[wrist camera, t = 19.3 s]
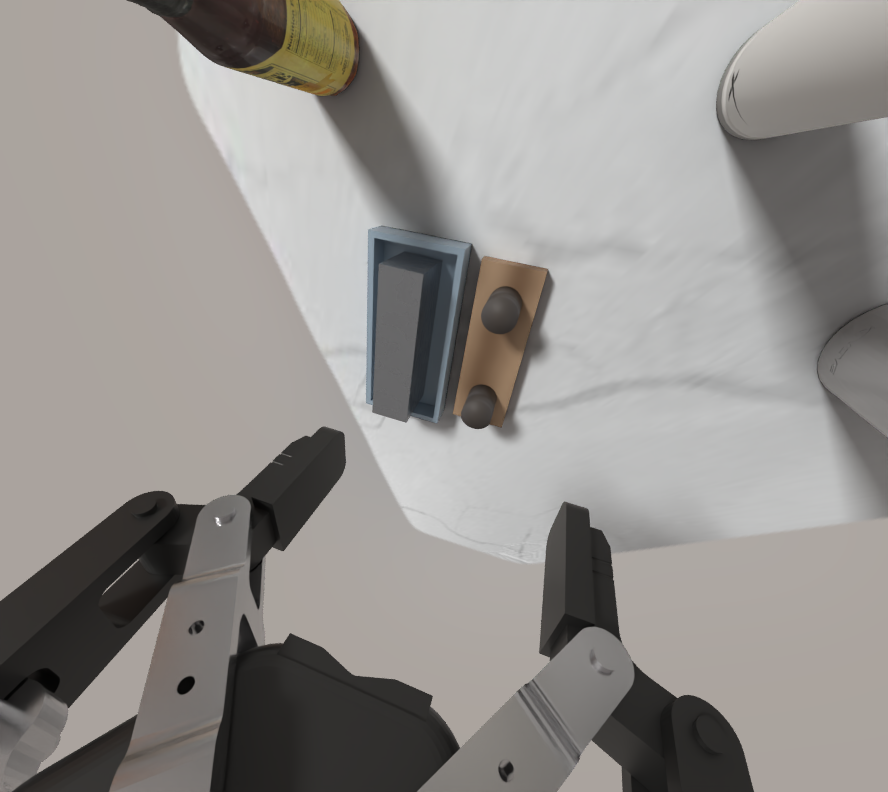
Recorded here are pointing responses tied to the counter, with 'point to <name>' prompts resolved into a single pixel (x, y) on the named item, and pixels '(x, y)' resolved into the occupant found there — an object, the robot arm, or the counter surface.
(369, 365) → the slot tray
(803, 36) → the travel mug
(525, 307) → the peg rack
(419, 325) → the steel bar
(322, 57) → the sauce bottle
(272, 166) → the counter surface
